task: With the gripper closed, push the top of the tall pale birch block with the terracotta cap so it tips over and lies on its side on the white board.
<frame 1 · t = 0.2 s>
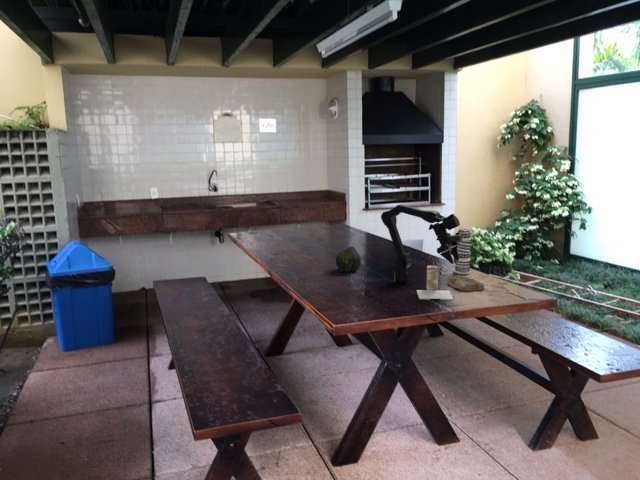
hand: (455, 261, 267), 14 cm above the table, tool tilted 30°, fingers open, 9 cm apart
flat brown rock: (463, 287, 276), on the table
decorative candle: (462, 272, 305), on the table
birch block: (432, 289, 270), on the table
squash: (348, 270, 312), on the table
white board: (434, 295, 259), on the table
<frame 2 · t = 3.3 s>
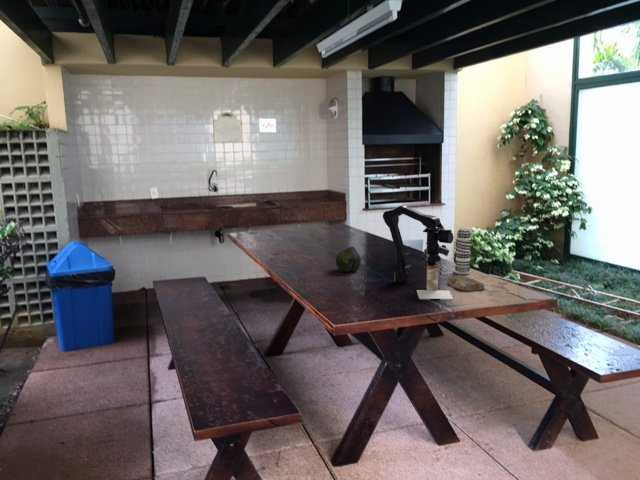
hand: (431, 271, 272), 9 cm above the table, tool pointing down, fingers closed
birch block: (432, 289, 270), on the table, touching gripper
everything else where it was.
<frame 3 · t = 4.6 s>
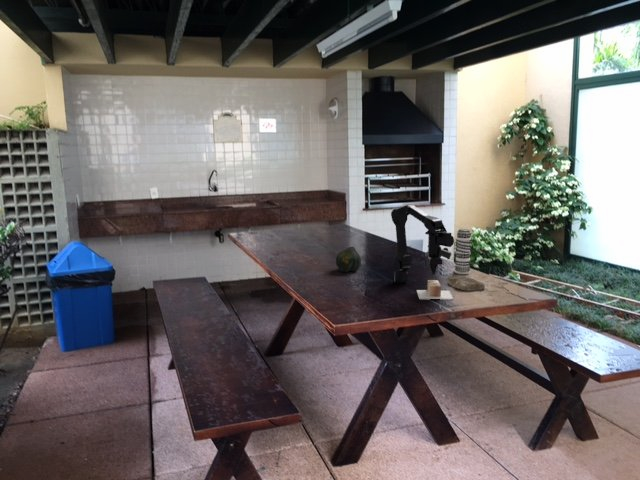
hand: (433, 274, 265), 9 cm above the table, tool pointing down, fingers closed
birch block: (432, 284, 267), point 3 cm above the table, tilted 90°, touching white board
everything else where it was.
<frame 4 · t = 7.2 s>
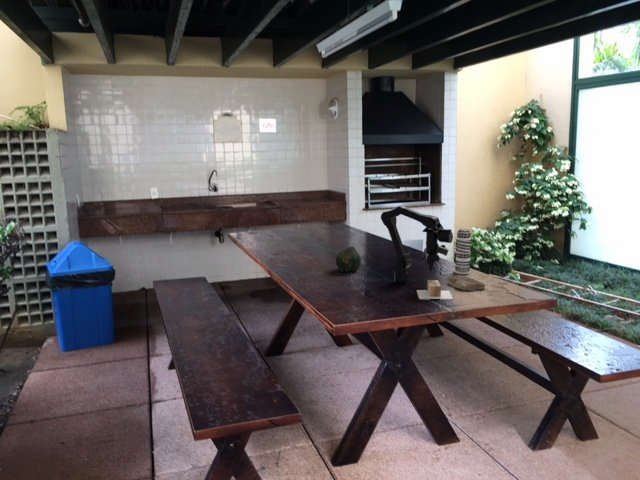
hand: (430, 270, 274), 8 cm above the table, tool pointing down, fingers closed
nothing on the table moved.
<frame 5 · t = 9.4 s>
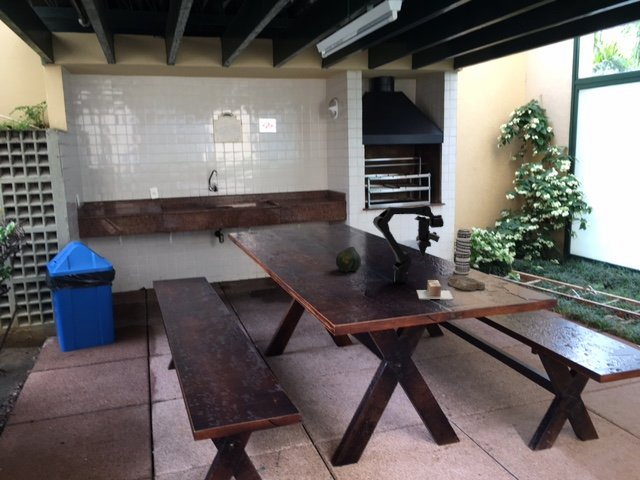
hand: (422, 256, 286), 13 cm above the table, tool pointing down, fingers closed
nothing on the table moved.
at the end: birch block tilted 90°; birch block touching white board; birch block inside the target area (1.3 cm from its centre), point 3.1 cm above the table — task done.
